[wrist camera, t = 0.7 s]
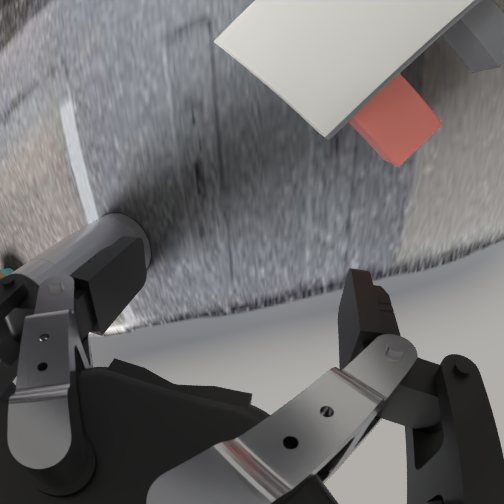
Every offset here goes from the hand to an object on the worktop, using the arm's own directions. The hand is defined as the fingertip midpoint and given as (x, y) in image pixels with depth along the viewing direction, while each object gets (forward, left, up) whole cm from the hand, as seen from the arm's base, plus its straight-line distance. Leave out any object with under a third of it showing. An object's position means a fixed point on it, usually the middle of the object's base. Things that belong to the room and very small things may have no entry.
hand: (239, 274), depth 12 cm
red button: (+11, -2, -17) cm, 20 cm away
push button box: (+17, +5, -23) cm, 29 cm away
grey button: (+24, -2, -17) cm, 29 cm away
